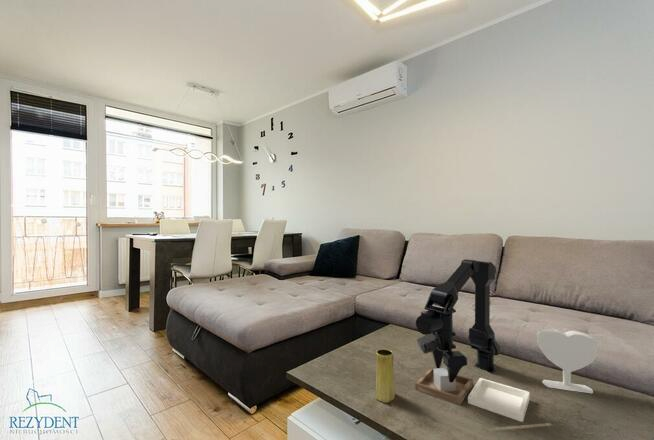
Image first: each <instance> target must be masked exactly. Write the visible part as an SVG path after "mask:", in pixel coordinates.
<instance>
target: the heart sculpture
mask: <svg viewBox="0 0 654 440" xmlns="http://www.w3.org/2000/svg"><path fill="white" fill-rule="evenodd" d="M536 335H537V337H536V341H537V347H538V348H539V349H540V350H541V352H542V353H543V355H544V356H545V357H546V359H548V360H549V361H550V362H551V363H552V364H554V366H557V367H558V368H560V369H562V381H557V380H550V379H543V380H542V384H543V385H544V386H546V387H547V388H550V389H551V388H552V389H559V390H565V391H571V392H572V391H573V392H580V393H585V394H593V393H594V390H593V389H592V388H591V387H589V386H587V385H585V384H578V383H572V372H575V371H578V370H580V369H583V368H585V367H587V366H589V365H590V364H591V363H593V361H594V360H595V359H596V358H597V356H598V351H599V347H598V342H597V341H596V340H595V339H594V338H593V337H591V336H590V335H589V334H587V333H584V332H581V331H578V330H567V331H566V332H563V331H562V330H560V329H557V328H546V329H543V330H540V331H539V332H537V334H536Z"/></svg>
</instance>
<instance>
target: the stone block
mask: <svg viewBox="0 0 654 440" xmlns="http://www.w3.org/2000/svg"><path fill="white" fill-rule="evenodd" d="M434 384H435V386H436V387H437V388H438V389H439V390H441V391H444V392H446V391H456V386H455V380H454V382H451V383H450V382H449V377H448V370H447V367H440V368H437V369H434Z"/></svg>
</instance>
